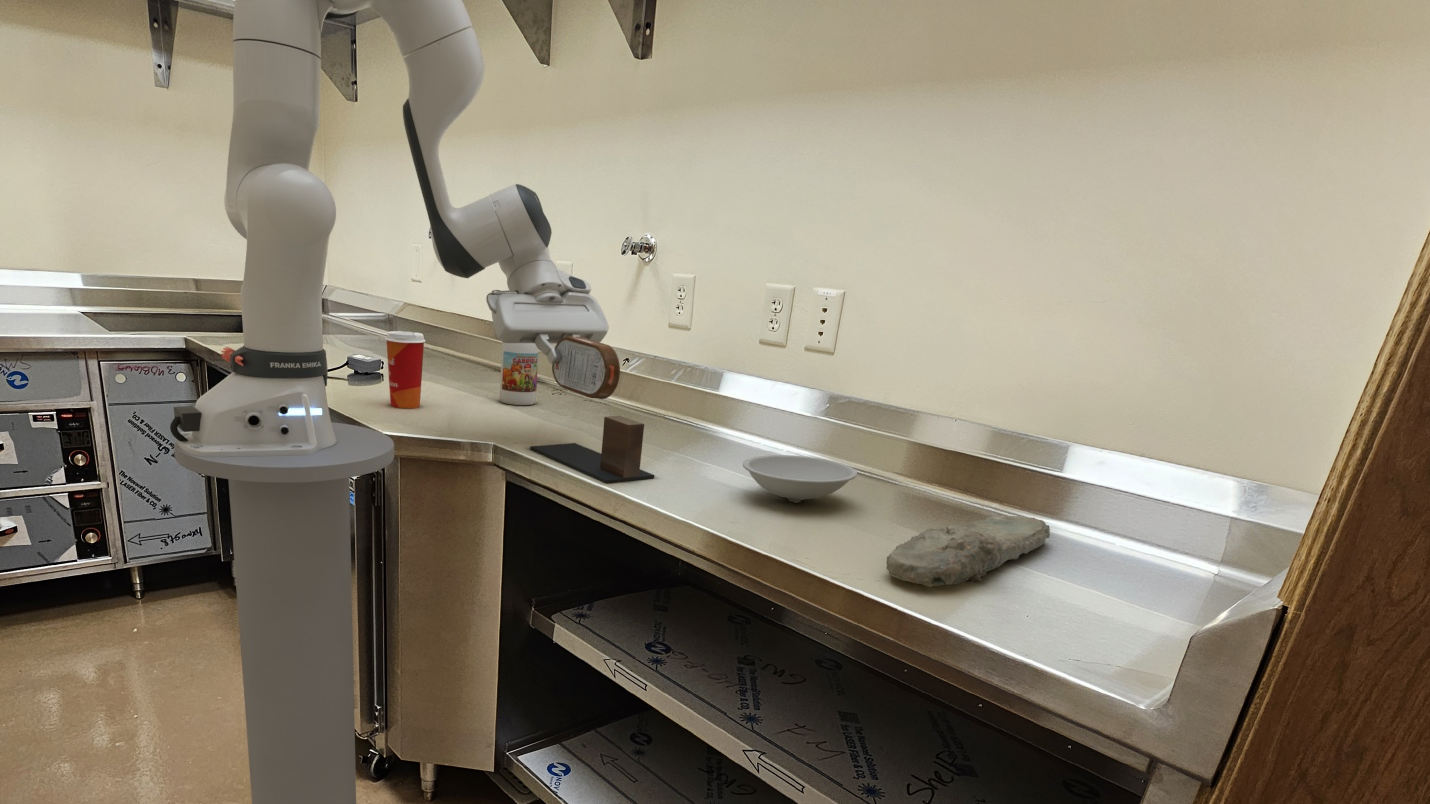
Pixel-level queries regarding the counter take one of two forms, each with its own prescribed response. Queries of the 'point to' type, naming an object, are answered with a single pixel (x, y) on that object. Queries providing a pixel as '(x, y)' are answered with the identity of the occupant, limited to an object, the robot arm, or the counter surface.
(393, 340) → the paper cup
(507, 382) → the milk bottle
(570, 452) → the mat
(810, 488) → the dish
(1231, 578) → the counter surface
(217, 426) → the robot arm
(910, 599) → the counter surface
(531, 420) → the counter surface
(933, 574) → the long grey stone
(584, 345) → the tin
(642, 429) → the brown rectangular block
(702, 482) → the counter surface
